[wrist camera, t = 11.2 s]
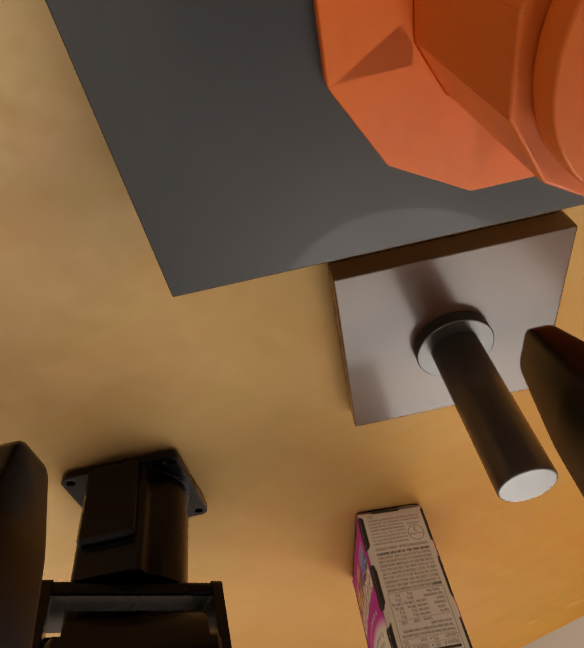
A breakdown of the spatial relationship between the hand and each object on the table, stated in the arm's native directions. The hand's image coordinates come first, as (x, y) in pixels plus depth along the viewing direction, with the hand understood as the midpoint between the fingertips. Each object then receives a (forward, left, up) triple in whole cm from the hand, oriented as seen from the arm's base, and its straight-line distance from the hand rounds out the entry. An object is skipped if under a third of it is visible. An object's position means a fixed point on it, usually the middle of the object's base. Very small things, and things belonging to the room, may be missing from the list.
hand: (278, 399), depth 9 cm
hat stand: (-11, -7, -12) cm, 18 cm away
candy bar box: (-33, -3, -12) cm, 35 cm away
